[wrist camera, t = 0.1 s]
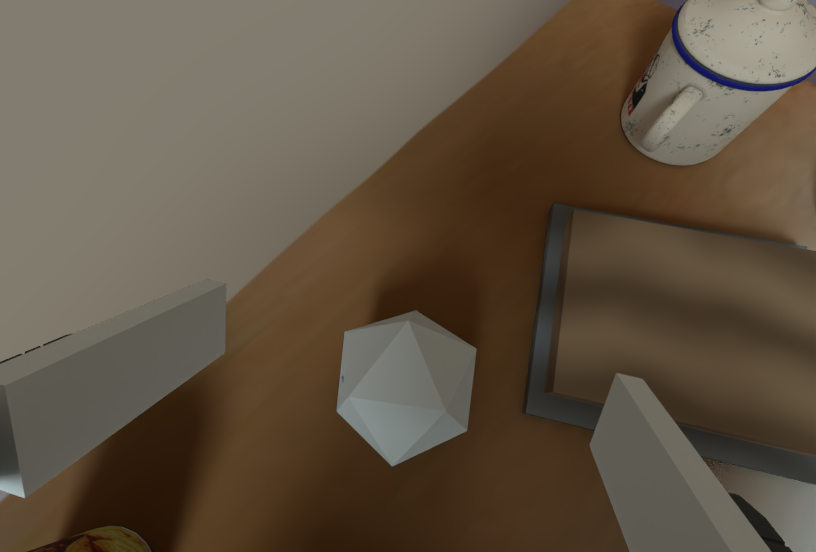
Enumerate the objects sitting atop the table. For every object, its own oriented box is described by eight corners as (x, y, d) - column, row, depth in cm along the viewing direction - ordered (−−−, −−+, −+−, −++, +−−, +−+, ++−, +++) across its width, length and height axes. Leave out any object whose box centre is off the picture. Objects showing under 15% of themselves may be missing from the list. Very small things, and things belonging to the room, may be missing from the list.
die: (405, 303, 30) (304, 305, 23) (510, 323, 25) (424, 335, 17) (394, 406, 30) (290, 443, 23) (495, 447, 25) (404, 513, 18)
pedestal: (815, 484, 24) (866, 494, 21) (522, 412, 26) (533, 412, 24) (794, 252, 29) (834, 234, 26) (550, 209, 31) (562, 189, 29)
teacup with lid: (655, 68, 36) (755, -86, 25) (748, 122, 33) (906, -22, 22) (573, 148, 33) (643, 18, 22) (668, 213, 31) (799, 102, 20)
